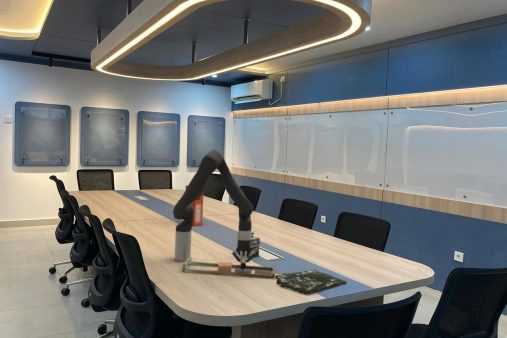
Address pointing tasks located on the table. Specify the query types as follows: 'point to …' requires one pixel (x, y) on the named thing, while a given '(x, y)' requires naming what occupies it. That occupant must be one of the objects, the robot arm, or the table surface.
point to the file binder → (197, 211)
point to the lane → (259, 272)
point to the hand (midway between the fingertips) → (242, 269)
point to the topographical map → (308, 281)
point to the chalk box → (254, 245)
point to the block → (225, 266)
